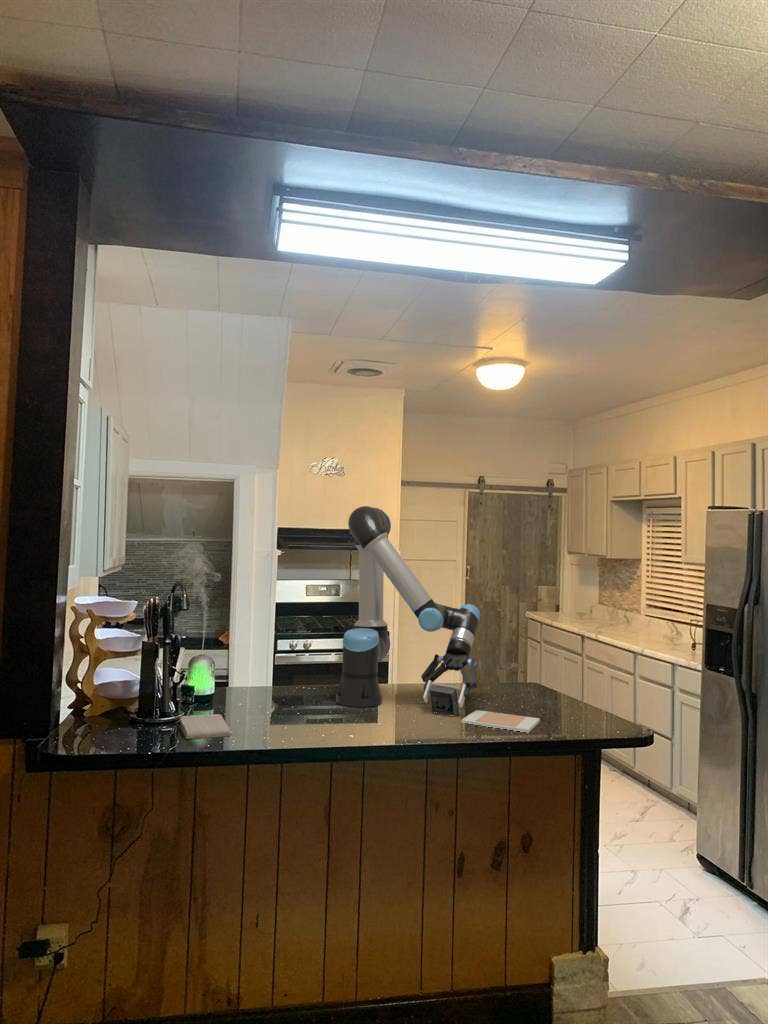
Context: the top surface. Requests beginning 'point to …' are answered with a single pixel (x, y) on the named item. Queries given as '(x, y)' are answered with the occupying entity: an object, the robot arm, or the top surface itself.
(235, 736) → the top surface
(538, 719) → the mounting plate
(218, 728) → the washcloth
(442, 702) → the electrical switch
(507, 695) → the top surface
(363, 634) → the robot arm
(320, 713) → the top surface
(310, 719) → the top surface
